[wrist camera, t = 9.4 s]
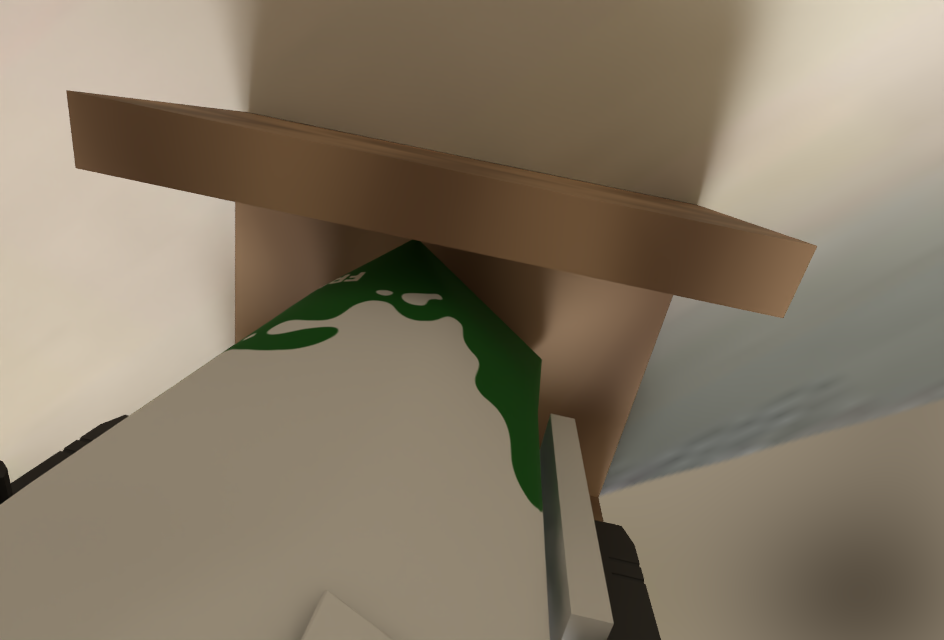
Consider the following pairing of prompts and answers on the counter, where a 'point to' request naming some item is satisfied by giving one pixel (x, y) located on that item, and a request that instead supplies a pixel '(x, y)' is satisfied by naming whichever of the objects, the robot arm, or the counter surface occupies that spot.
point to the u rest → (454, 240)
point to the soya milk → (306, 485)
